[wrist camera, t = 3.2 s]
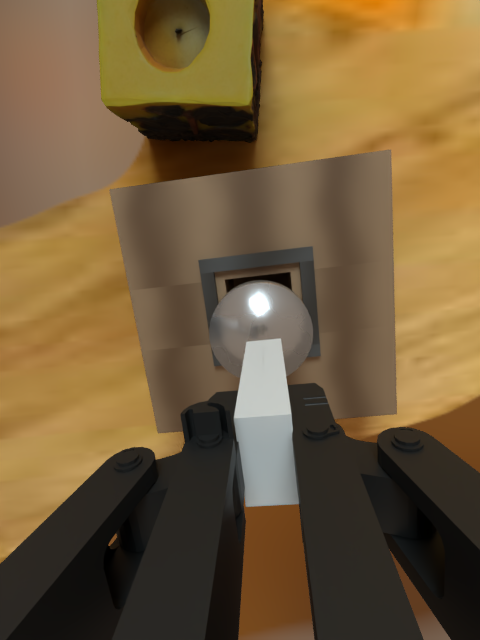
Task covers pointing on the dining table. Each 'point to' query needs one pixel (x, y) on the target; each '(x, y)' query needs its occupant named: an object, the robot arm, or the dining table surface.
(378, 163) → the socket block
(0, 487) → the dining table surface
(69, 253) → the dining table surface
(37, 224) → the dining table surface
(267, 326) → the grey piece
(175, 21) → the candle
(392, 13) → the dining table surface
